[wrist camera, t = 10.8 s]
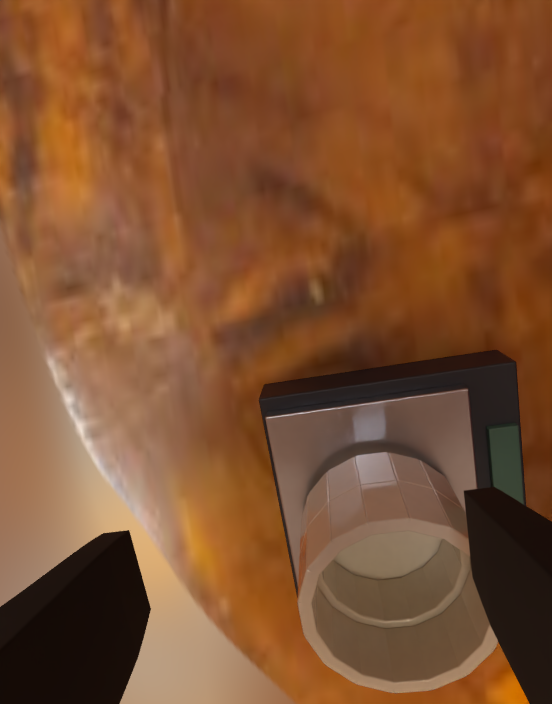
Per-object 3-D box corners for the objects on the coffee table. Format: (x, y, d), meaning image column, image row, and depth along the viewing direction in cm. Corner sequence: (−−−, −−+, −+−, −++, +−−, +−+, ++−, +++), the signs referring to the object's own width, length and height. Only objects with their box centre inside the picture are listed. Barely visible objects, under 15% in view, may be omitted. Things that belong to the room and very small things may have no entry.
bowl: (450, 436, 17) (499, 507, 12) (465, 575, 18) (514, 685, 14) (290, 457, 17) (283, 532, 13) (315, 590, 19) (315, 700, 14)
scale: (497, 349, 18) (524, 366, 16) (515, 577, 21) (540, 620, 18) (263, 384, 19) (256, 404, 17) (304, 597, 22) (303, 641, 19)
